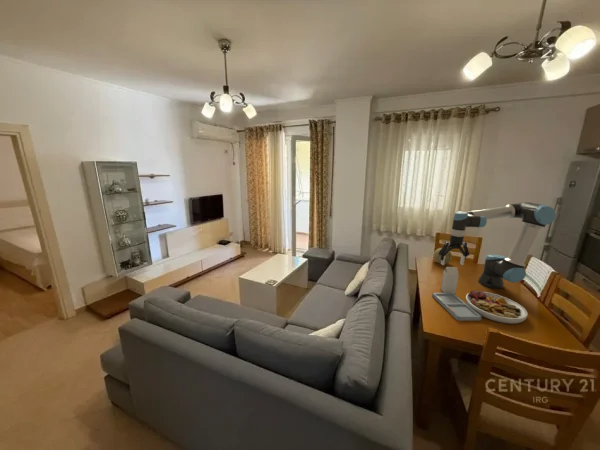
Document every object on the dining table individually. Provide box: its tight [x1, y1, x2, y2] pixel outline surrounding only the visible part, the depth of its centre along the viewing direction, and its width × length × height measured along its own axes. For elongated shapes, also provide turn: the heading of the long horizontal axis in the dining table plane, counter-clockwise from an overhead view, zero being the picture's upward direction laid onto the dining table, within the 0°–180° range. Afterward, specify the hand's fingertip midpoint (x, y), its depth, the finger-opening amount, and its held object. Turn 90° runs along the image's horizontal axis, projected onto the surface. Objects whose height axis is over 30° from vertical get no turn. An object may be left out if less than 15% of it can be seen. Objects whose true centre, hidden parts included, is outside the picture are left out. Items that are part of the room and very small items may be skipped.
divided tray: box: [431, 292, 483, 322], centre depth 154 cm, size 14×27×3 cm, turn 1°
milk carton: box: [440, 266, 460, 295], centre depth 171 cm, size 7×7×19 cm
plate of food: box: [465, 290, 528, 325], centre depth 150 cm, size 30×30×8 cm
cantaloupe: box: [433, 247, 453, 265], centre depth 221 cm, size 15×15×15 cm
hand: (452, 264), depth 168 cm, fingers open, 13 cm apart
